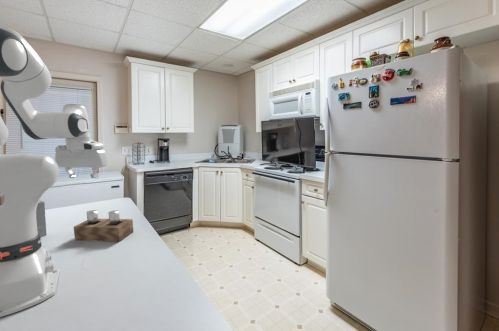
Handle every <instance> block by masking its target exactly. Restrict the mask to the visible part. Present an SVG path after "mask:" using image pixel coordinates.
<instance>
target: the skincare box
mask: <svg viewBox="0 0 499 331" xmlns="http://www.w3.org/2000/svg"><path fill="white" fill-rule="evenodd" d="M36 221H37V231H38V233H39V234H40V237H41V238H42V237H45V236H48V235H47V224H46V206H45V201H43V200H41V199H40V200H39V202H38V204H37V208H36Z"/></svg>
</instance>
